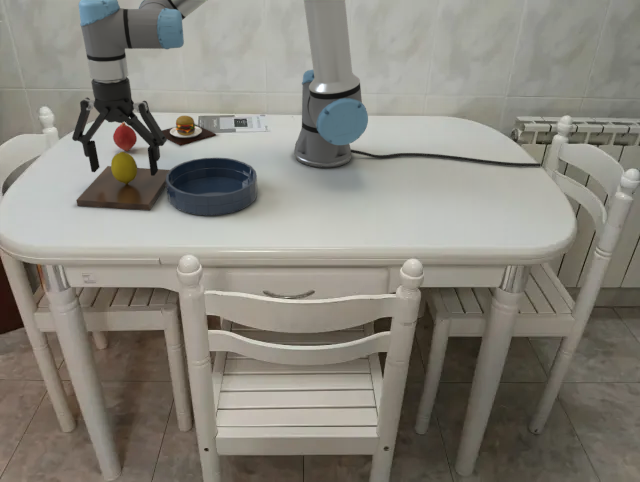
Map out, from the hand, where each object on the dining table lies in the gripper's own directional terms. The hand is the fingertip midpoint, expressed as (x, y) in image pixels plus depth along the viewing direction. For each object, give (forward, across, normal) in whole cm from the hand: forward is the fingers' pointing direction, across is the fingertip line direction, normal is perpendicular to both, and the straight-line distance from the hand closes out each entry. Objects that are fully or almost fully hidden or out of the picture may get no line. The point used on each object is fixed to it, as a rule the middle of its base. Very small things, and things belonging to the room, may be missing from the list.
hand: (125, 171), depth 127 cm
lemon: (+3, 0, 0) cm, 3 cm away
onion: (+5, +8, -22) cm, 24 cm away
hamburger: (+5, -4, -36) cm, 37 cm away
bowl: (+5, -20, 0) cm, 21 cm away
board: (+5, 0, 0) cm, 5 cm away
